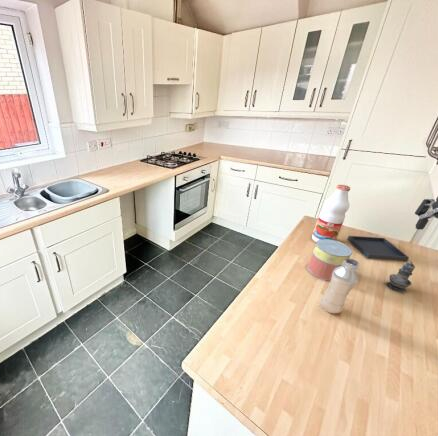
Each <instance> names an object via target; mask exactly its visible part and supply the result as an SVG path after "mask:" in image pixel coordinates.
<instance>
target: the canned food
mask: <svg viewBox="0 0 438 436" xmlns="http://www.w3.org/2000/svg"><path fill="white" fill-rule="evenodd" d="M352 254H353V250H352V249H351V248H350V246H348V245H346V244H345V243H343V242H341V241H338V240H330V239H321V240H318V241H317V242H315V246H314V249H313V252H312V254H311V257H310V259H309V262H308V264H307V270H308V272H310V273H311V274H312V275H313V276H315V277H317V278H319V279H321V280H325V281H331V277H332V273H333V271H334V270H335V269H336V268H337V267H339V266H342V263H343V262H344V260H345V259H347V258H349V259H351V256H352Z"/></svg>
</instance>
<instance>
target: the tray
mask: <svg viewBox="0 0 438 436" xmlns="http://www.w3.org/2000/svg"><path fill="white" fill-rule="evenodd" d="M347 240H348V241H349V242H350V243H351V244H352V245H353V246H354V247H355V248H356V249H357V250H358V251H359V252H360V253H361V254H362V255H363V256H364V257H365V258H366V259H372V260H385V261H386V260H387V261H397V262H398V261H399V262H408V261H409V259H410V256H408V255H407V254H405V253H404V252H403V251H402V250H401V249H399V248H398V247H397V246H395V245H394V244H393V243H391V242H390V241H389V240H388V239H386V238H385V237H378V236H377V237H376V236H359V235H358V236H356V235H348V238H347Z"/></svg>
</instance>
